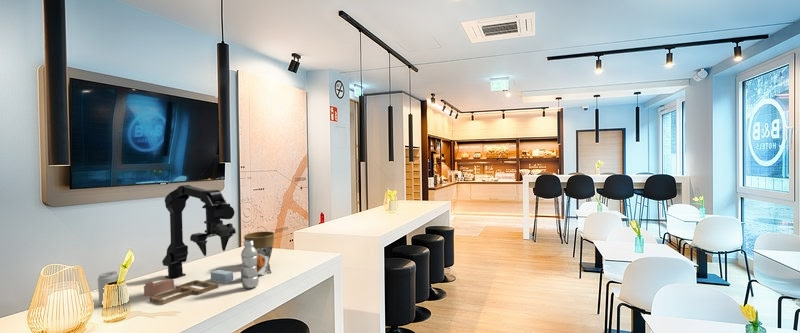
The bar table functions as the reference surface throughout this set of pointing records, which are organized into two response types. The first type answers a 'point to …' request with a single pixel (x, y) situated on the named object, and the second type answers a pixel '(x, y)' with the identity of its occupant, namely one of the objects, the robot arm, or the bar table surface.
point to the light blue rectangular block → (222, 276)
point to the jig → (186, 290)
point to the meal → (261, 262)
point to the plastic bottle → (249, 265)
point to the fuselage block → (158, 287)
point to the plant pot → (261, 240)
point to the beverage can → (105, 282)
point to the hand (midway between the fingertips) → (214, 253)
